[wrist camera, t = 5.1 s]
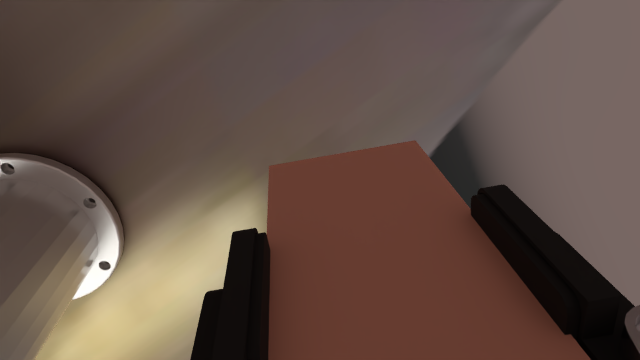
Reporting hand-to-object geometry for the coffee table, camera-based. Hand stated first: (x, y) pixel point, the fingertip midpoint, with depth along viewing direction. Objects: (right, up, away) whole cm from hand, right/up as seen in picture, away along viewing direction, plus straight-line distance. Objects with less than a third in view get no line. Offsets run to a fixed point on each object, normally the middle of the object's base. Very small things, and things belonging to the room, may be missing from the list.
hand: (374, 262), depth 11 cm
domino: (0, +2, +4) cm, 5 cm away
